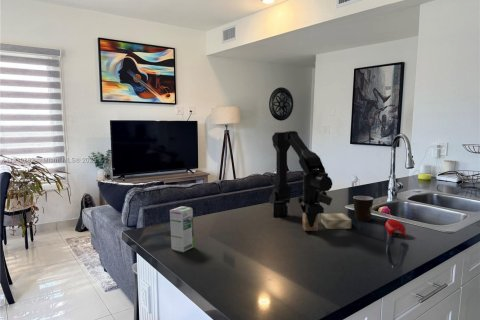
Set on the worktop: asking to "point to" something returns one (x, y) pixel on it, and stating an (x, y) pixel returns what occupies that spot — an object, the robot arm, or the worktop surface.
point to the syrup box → (182, 228)
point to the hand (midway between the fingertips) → (309, 224)
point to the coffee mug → (363, 208)
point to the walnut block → (307, 226)
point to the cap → (394, 227)
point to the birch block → (336, 221)
